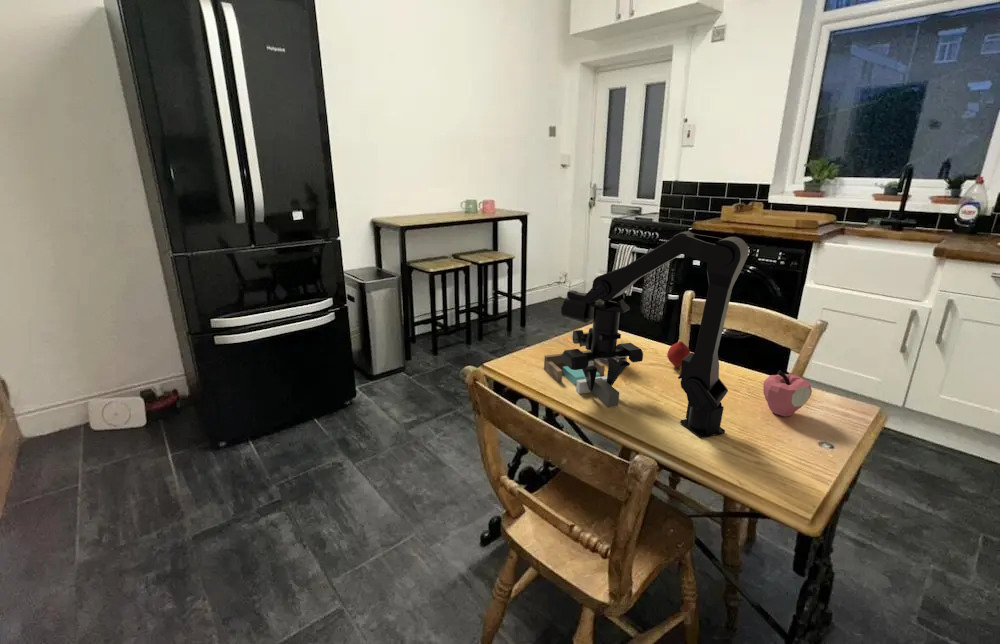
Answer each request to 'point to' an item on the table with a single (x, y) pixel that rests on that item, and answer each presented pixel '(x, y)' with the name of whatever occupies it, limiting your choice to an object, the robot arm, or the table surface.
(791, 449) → the table surface
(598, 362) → the tile bay
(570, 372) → the tile
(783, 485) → the table surface
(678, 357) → the onion
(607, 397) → the pusher
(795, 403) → the apple
